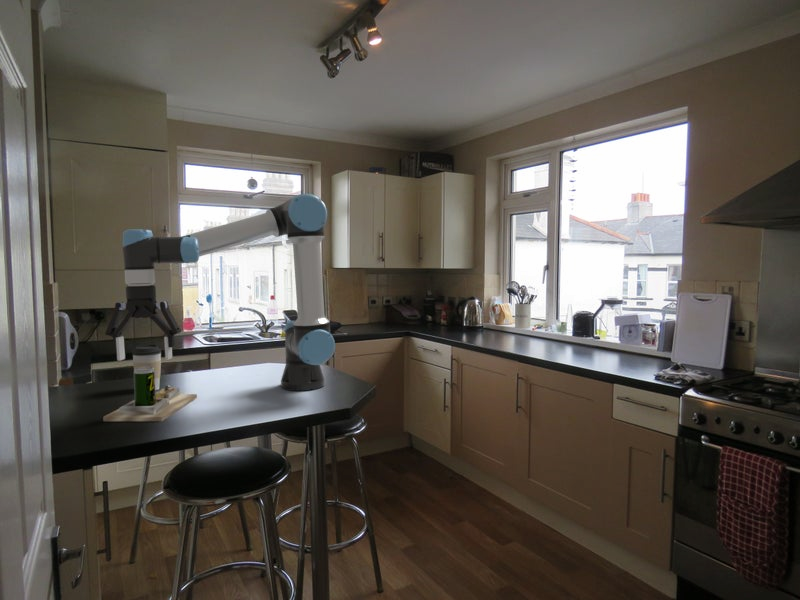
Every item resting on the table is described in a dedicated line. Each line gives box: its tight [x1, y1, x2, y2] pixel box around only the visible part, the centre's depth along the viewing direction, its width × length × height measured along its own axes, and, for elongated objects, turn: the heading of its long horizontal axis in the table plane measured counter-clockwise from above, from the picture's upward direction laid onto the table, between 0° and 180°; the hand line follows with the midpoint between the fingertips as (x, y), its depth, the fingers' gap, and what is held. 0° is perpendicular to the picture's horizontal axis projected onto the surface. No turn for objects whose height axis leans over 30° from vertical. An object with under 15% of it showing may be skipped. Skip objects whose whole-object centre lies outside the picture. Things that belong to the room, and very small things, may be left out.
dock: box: [102, 387, 198, 422], centre depth 150 cm, size 16×24×3 cm, turn 0°
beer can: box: [133, 366, 156, 406], centre depth 145 cm, size 5×5×12 cm
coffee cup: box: [131, 344, 162, 391], centre depth 173 cm, size 9×9×15 cm
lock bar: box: [156, 384, 176, 401], centre depth 158 cm, size 2×8×3 cm, turn 0°
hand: (145, 359), depth 144 cm, fingers open, 13 cm apart
